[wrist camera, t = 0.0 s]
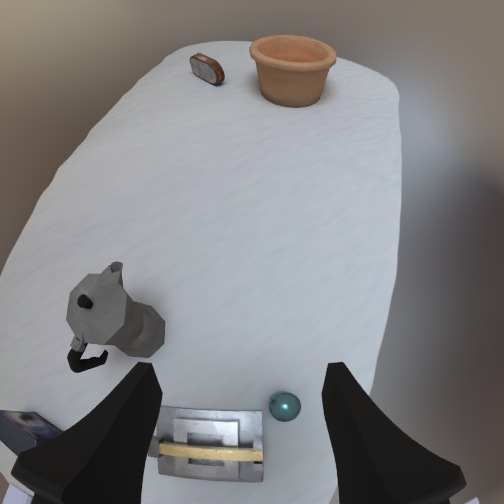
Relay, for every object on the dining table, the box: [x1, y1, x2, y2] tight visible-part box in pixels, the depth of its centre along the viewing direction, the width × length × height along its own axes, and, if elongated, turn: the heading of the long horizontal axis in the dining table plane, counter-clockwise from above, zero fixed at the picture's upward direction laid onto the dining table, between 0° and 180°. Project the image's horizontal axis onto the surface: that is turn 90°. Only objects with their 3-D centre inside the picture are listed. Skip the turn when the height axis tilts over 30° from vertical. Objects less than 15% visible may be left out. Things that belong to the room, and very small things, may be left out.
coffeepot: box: [66, 262, 165, 373], centre depth 35 cm, size 15×9×18 cm, turn 159°
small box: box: [0, 410, 63, 456], centre depth 29 cm, size 11×6×10 cm, turn 78°
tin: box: [190, 53, 225, 85], centre depth 71 cm, size 15×3×8 cm, turn 40°
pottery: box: [249, 35, 337, 107], centre depth 64 cm, size 22×22×14 cm
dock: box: [157, 406, 263, 482], centre depth 33 cm, size 12×16×6 cm
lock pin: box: [148, 436, 263, 461], centre depth 31 cm, size 3×16×2 cm, turn 91°
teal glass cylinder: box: [269, 391, 301, 422], centre depth 36 cm, size 4×4×6 cm
